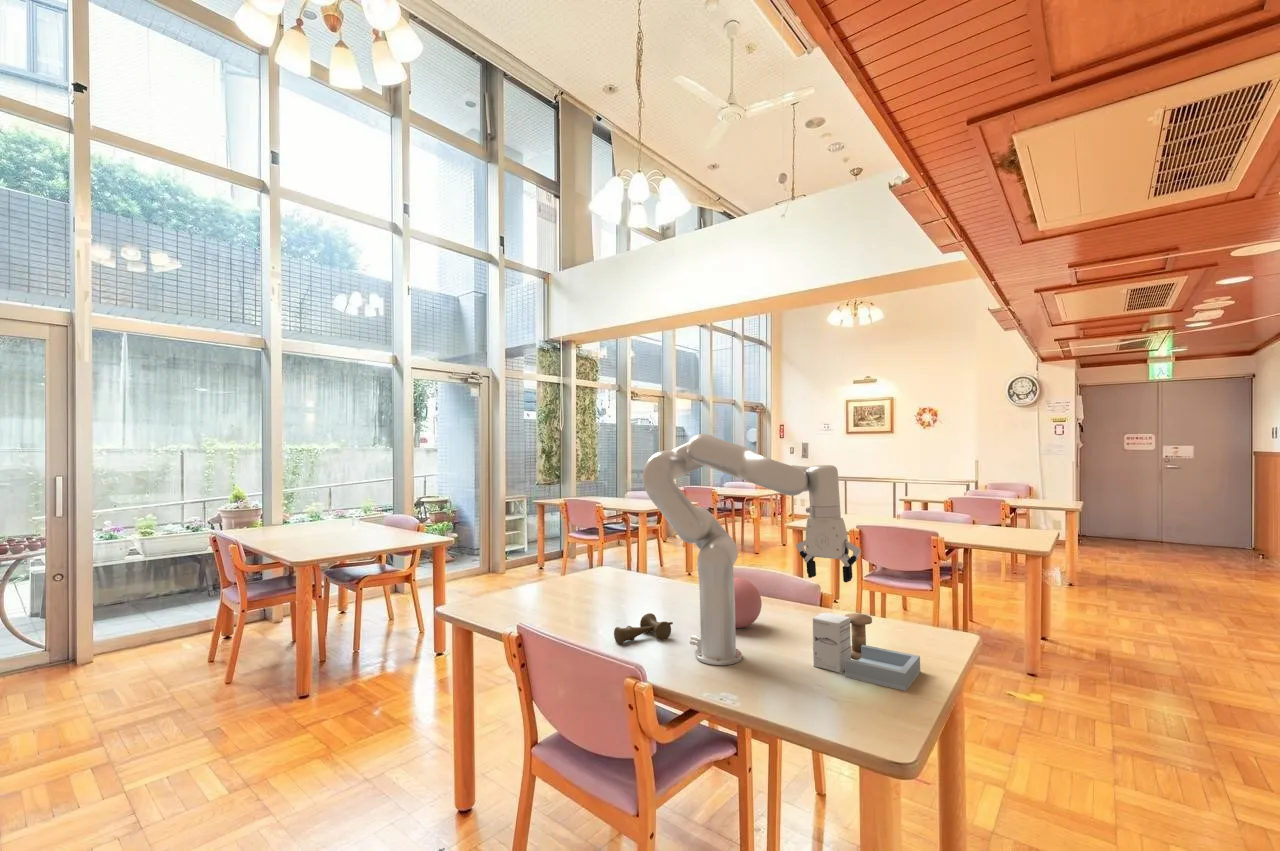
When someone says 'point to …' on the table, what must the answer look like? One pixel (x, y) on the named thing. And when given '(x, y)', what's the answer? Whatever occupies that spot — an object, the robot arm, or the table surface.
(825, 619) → the supplement box
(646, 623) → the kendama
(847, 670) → the square tray
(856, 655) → the doorknob
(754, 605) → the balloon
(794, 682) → the table surface
